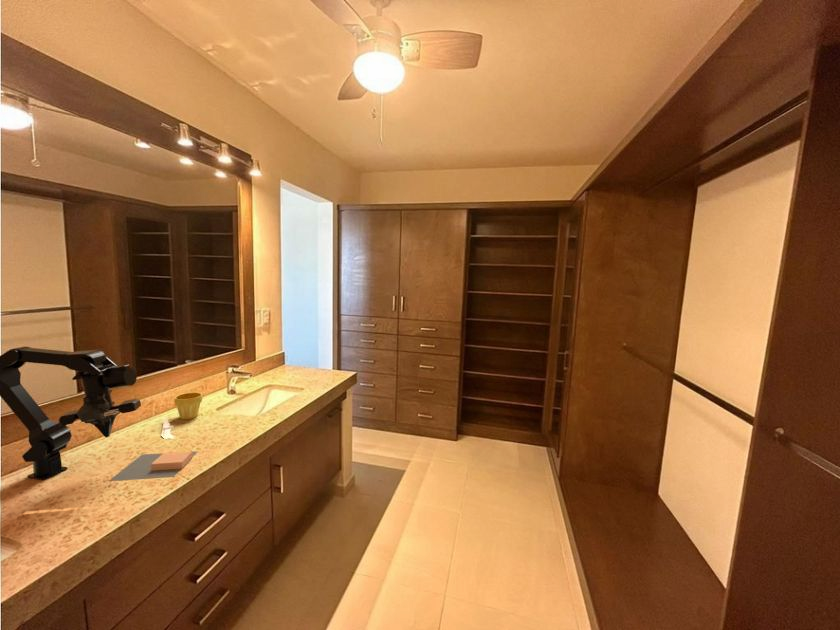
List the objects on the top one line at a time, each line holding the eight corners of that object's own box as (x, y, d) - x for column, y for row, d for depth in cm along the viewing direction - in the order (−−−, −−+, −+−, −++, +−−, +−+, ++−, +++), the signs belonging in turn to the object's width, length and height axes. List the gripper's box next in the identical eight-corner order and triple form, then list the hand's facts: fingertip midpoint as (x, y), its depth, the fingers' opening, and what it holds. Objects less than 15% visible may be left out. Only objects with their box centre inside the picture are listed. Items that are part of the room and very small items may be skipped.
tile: (151, 463, 109) (182, 462, 111) (163, 453, 116) (192, 451, 118) (151, 470, 109) (182, 468, 111) (163, 459, 116) (192, 457, 118)
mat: (108, 482, 103) (108, 480, 103) (141, 456, 119) (141, 454, 119) (174, 478, 107) (173, 476, 107) (198, 453, 122) (198, 451, 122)
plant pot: (207, 412, 159) (206, 392, 158) (193, 421, 149) (192, 399, 148) (185, 412, 159) (184, 391, 158) (169, 421, 148) (168, 399, 147)
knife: (184, 445, 127) (158, 450, 122) (184, 449, 127) (158, 454, 123) (185, 415, 151) (163, 418, 147) (185, 418, 152) (163, 422, 147)
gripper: (41, 405, 97) (54, 456, 99) (122, 390, 104) (133, 438, 105) (64, 394, 107) (75, 441, 109) (136, 381, 114) (146, 425, 116)
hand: (107, 436), depth 109 cm, fingers closed
